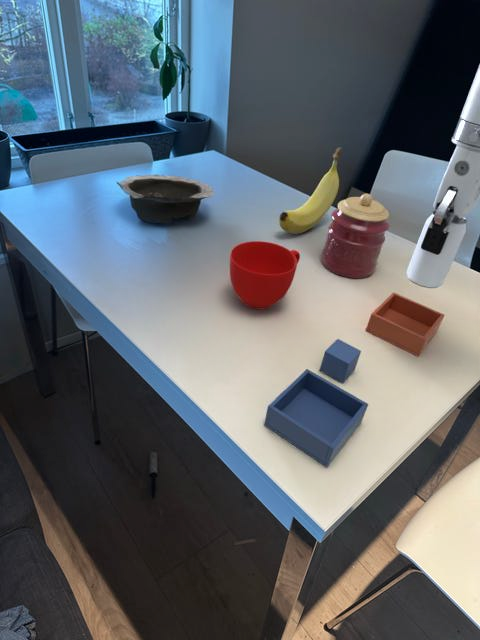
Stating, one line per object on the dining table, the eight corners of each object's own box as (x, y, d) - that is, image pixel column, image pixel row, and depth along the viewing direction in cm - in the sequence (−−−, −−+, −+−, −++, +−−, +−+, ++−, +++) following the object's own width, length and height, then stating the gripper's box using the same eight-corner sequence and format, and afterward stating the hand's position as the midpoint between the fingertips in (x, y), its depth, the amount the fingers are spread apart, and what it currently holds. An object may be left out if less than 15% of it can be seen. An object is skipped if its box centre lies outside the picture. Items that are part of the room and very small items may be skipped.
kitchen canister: (358, 286, 100) (381, 211, 89) (310, 263, 106) (326, 191, 95) (384, 266, 108) (407, 197, 97) (338, 246, 114) (355, 178, 104)
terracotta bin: (437, 331, 89) (444, 314, 86) (418, 356, 82) (426, 339, 79) (387, 308, 94) (393, 292, 91) (365, 330, 87) (371, 313, 84)
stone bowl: (138, 237, 107) (135, 199, 102) (109, 204, 125) (105, 170, 119) (229, 223, 117) (231, 188, 112) (191, 194, 135) (190, 162, 130)
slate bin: (361, 422, 68) (368, 404, 65) (327, 467, 61) (333, 449, 58) (302, 386, 73) (306, 368, 70) (263, 425, 66) (267, 406, 63)
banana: (286, 244, 112) (301, 164, 100) (269, 235, 115) (281, 157, 103) (335, 221, 127) (353, 149, 115) (318, 214, 130) (334, 143, 118)
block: (354, 370, 77) (361, 350, 74) (342, 383, 74) (349, 363, 71) (331, 357, 79) (337, 338, 76) (319, 370, 76) (324, 350, 73)
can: (445, 279, 81) (472, 217, 74) (438, 293, 76) (466, 228, 70) (410, 267, 84) (433, 206, 77) (401, 280, 79) (425, 215, 72)
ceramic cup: (314, 299, 94) (324, 257, 88) (255, 327, 84) (262, 282, 78) (271, 271, 101) (278, 231, 95) (212, 294, 91) (216, 251, 85)
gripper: (493, 152, 58) (442, 270, 69) (520, 133, 70) (473, 237, 80) (437, 138, 62) (397, 252, 72) (471, 121, 73) (432, 223, 84)
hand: (437, 243), depth 76 cm, fingers closed on can, 6 cm apart
